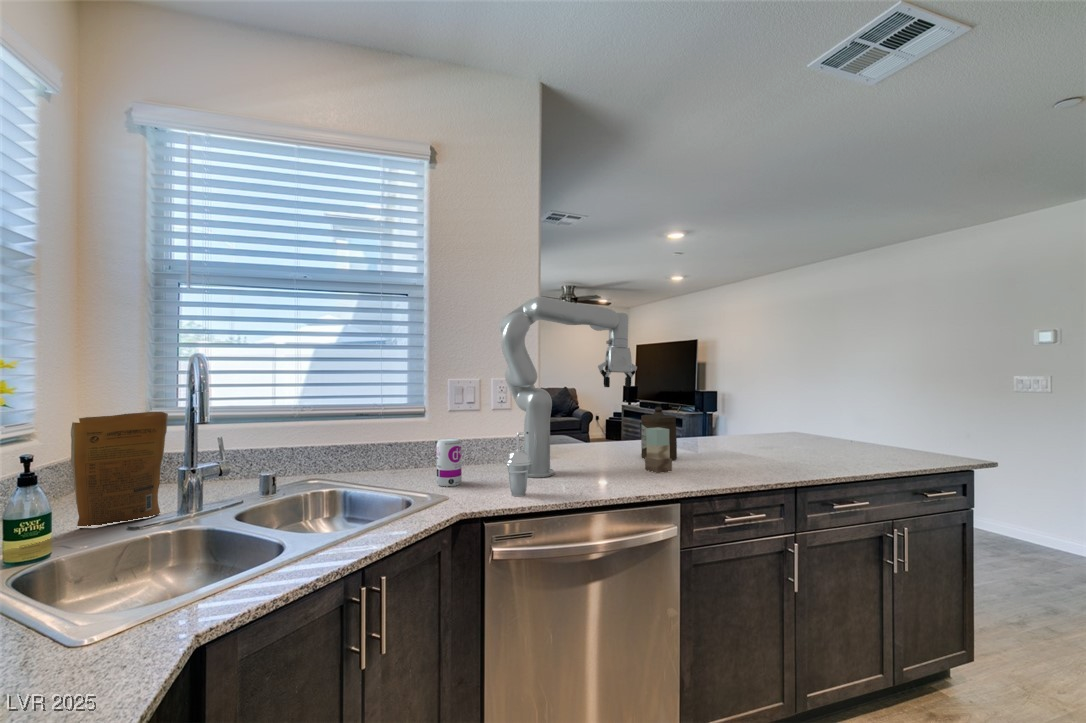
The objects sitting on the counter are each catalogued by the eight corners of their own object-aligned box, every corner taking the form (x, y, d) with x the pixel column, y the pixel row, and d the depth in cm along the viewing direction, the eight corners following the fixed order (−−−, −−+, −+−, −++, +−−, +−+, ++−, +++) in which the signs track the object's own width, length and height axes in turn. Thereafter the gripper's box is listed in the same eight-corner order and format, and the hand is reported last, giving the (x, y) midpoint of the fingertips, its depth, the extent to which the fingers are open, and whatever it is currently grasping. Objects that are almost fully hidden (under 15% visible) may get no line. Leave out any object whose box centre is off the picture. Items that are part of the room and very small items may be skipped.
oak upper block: (657, 459, 181) (657, 446, 181) (646, 457, 186) (646, 444, 186) (669, 458, 184) (669, 445, 184) (658, 455, 189) (658, 442, 189)
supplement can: (466, 483, 165) (466, 439, 165) (446, 488, 159) (446, 442, 159) (451, 480, 170) (451, 437, 171) (431, 484, 164) (431, 439, 165)
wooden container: (640, 454, 218) (640, 405, 218) (674, 455, 216) (674, 405, 216) (642, 461, 204) (642, 408, 204) (679, 461, 202) (678, 408, 202)
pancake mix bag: (170, 516, 130) (170, 411, 130) (70, 535, 116) (71, 417, 116) (165, 511, 134) (165, 410, 135) (68, 528, 120) (69, 415, 121)
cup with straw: (530, 490, 156) (529, 427, 156) (534, 498, 147) (534, 431, 147) (503, 491, 154) (503, 428, 154) (506, 499, 145) (506, 432, 146)
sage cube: (656, 446, 181) (656, 430, 181) (646, 444, 186) (646, 428, 186) (669, 445, 184) (669, 429, 184) (658, 442, 189) (658, 427, 189)
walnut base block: (657, 473, 180) (656, 460, 180) (645, 470, 186) (645, 457, 187) (671, 471, 183) (671, 458, 183) (659, 468, 190) (659, 455, 190)
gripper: (603, 342, 187) (603, 387, 186) (642, 344, 193) (641, 387, 193) (594, 343, 193) (593, 386, 193) (631, 345, 200) (630, 387, 200)
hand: (617, 387), depth 193 cm, fingers open, 9 cm apart
